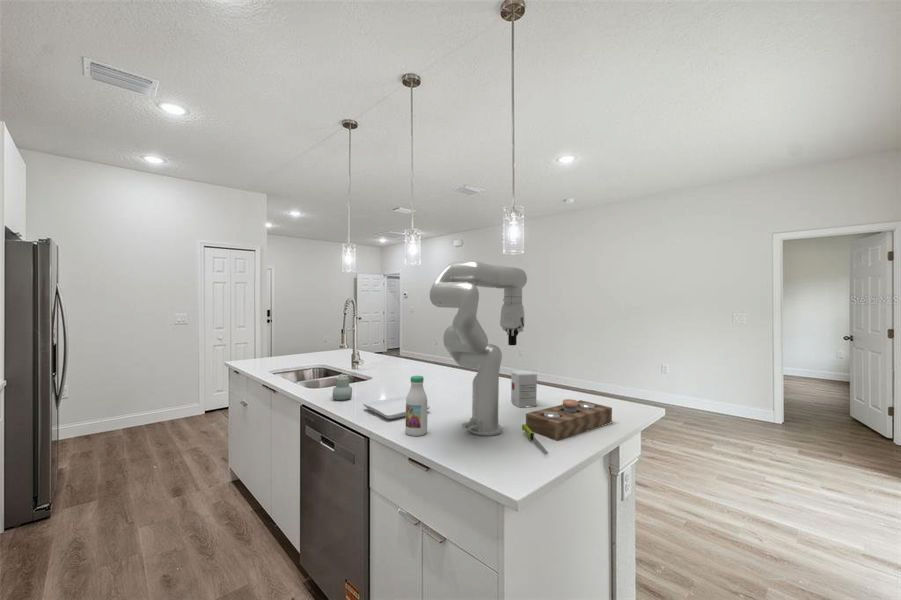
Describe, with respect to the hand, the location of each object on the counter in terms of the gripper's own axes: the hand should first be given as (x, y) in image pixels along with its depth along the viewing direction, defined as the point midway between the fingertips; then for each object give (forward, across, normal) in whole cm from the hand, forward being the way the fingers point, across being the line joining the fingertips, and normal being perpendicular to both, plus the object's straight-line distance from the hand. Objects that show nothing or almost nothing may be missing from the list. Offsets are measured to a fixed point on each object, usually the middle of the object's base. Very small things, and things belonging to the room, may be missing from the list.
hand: (512, 345), depth 160 cm
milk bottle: (+29, -4, -44) cm, 53 cm away
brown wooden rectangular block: (+29, +23, +8) cm, 38 cm away
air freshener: (+29, -64, -48) cm, 85 cm away
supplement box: (+29, -8, +16) cm, 34 cm away
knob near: (+29, +23, -3) cm, 37 cm away
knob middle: (+26, +23, +8) cm, 35 cm away
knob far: (+29, +23, +19) cm, 41 cm away
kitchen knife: (+29, +28, -18) cm, 44 cm away
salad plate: (+30, -31, -37) cm, 57 cm away
